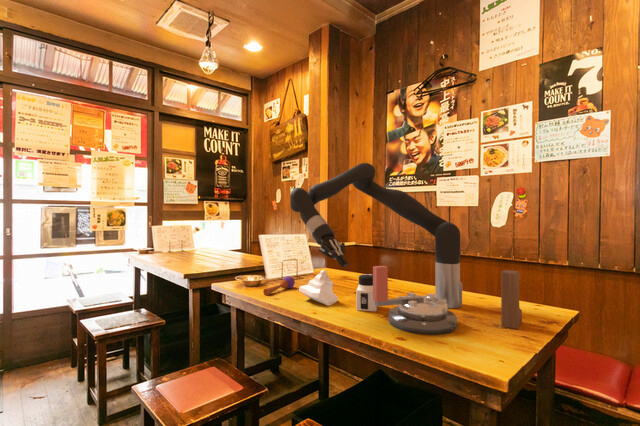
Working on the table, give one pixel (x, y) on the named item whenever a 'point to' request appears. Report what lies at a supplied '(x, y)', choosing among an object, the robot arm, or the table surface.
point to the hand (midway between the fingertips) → (345, 265)
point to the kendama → (281, 285)
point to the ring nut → (408, 300)
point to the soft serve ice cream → (320, 289)
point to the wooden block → (510, 299)
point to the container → (365, 294)
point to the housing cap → (423, 324)
